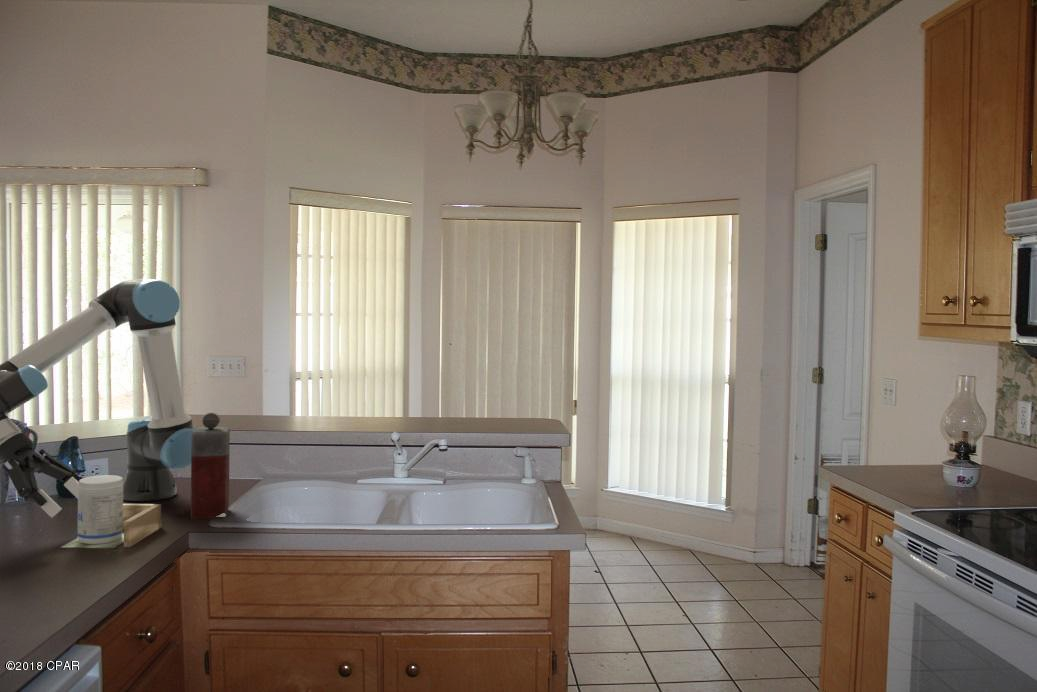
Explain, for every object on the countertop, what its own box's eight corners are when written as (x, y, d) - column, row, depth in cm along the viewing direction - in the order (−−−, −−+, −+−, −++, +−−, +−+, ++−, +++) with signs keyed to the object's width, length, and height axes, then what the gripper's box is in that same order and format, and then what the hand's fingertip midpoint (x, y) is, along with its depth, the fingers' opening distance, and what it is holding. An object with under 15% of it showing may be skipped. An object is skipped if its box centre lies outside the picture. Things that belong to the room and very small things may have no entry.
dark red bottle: (229, 507, 215) (230, 409, 214) (226, 517, 204) (227, 414, 203) (195, 508, 212) (196, 409, 211) (190, 519, 202) (191, 414, 201)
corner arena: (61, 547, 175) (61, 522, 175) (100, 526, 193) (100, 503, 192) (128, 548, 176) (128, 522, 175) (161, 527, 193) (161, 504, 193)
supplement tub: (73, 538, 181) (73, 477, 181) (116, 531, 188) (116, 473, 187) (83, 548, 174) (83, 484, 174) (128, 540, 181) (128, 479, 180)
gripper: (27, 444, 191) (87, 504, 193) (-40, 463, 166) (30, 531, 168) (49, 424, 192) (109, 484, 193) (-15, 439, 167) (55, 508, 168)
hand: (72, 506), depth 180 cm, fingers open, 13 cm apart
